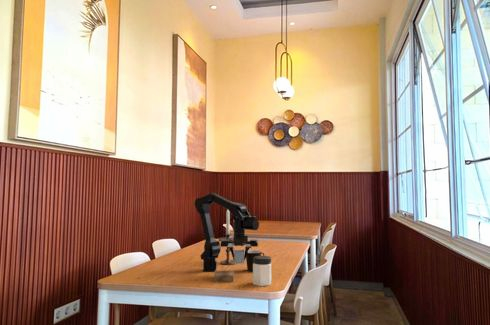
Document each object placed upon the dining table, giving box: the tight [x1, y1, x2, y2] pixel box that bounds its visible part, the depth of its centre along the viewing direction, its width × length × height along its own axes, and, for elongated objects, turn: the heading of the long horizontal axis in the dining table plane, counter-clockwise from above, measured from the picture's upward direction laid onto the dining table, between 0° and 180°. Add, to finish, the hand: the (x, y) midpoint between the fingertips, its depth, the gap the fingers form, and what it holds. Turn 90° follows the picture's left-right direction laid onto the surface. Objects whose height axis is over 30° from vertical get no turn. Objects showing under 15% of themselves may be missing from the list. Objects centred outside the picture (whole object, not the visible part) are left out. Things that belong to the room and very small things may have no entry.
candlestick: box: [218, 208, 235, 266], centre depth 210 cm, size 11×11×35 cm
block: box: [233, 249, 245, 265], centre depth 180 cm, size 5×5×6 cm
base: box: [213, 270, 235, 283], centre depth 172 cm, size 9×9×3 cm
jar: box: [252, 255, 272, 287], centre depth 164 cm, size 9×8×12 cm
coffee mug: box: [245, 249, 265, 273], centre depth 191 cm, size 12×9×10 cm
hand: (239, 260), depth 180 cm, fingers closed on block, 5 cm apart
